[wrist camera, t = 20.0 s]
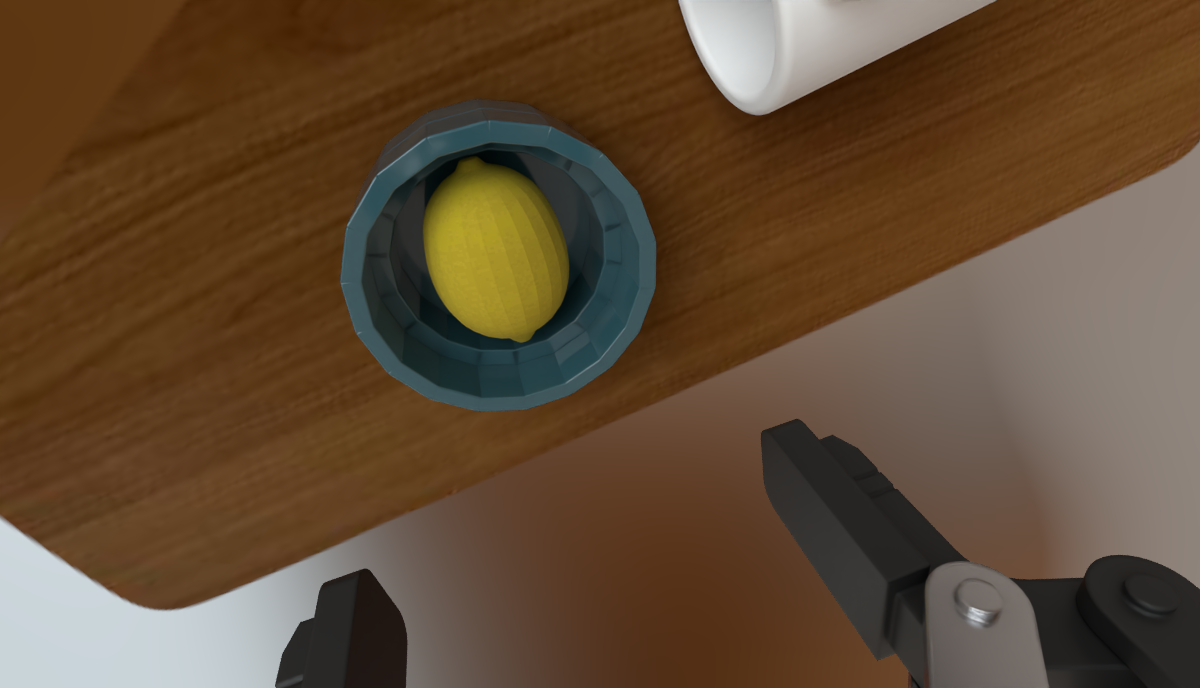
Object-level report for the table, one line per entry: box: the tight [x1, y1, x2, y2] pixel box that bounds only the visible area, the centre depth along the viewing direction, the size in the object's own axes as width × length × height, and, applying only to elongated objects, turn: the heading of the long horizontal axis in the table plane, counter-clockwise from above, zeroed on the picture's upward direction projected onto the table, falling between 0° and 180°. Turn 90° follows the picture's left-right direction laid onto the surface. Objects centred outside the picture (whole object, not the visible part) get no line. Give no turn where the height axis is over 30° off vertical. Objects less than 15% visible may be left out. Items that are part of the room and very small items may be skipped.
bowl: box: [340, 99, 656, 412], centre depth 23 cm, size 11×12×6 cm
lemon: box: [423, 156, 569, 343], centre depth 23 cm, size 6×6×8 cm
